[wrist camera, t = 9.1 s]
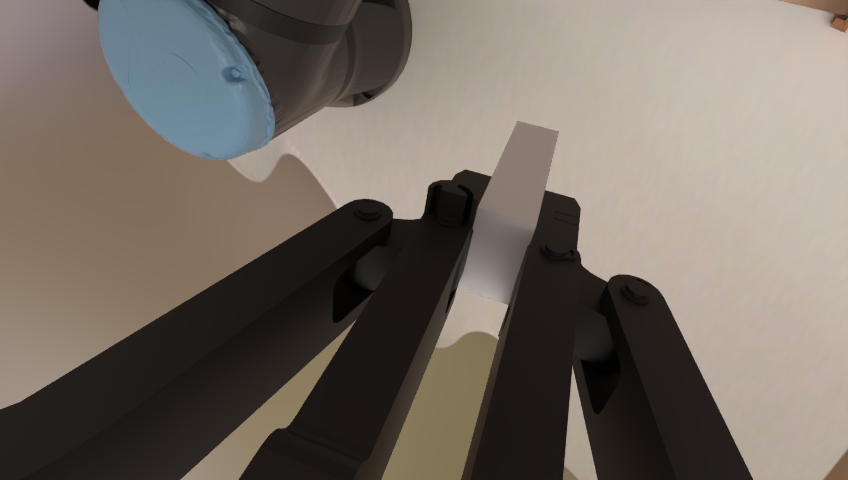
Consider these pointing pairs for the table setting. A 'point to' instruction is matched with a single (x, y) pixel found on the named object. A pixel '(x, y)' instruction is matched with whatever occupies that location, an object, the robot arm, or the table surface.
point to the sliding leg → (840, 25)
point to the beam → (824, 5)
